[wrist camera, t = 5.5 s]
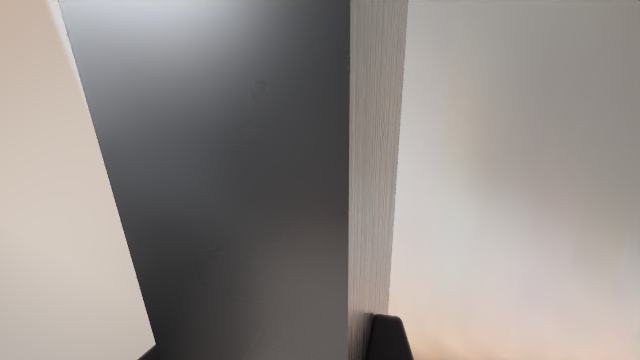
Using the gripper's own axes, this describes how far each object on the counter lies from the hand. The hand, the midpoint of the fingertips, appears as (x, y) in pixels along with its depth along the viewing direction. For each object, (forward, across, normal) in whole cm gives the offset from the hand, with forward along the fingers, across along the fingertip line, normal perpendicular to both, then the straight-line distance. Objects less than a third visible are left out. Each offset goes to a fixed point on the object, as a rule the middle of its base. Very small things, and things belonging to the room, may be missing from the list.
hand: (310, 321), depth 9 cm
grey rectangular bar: (+3, 0, 0) cm, 3 cm away
